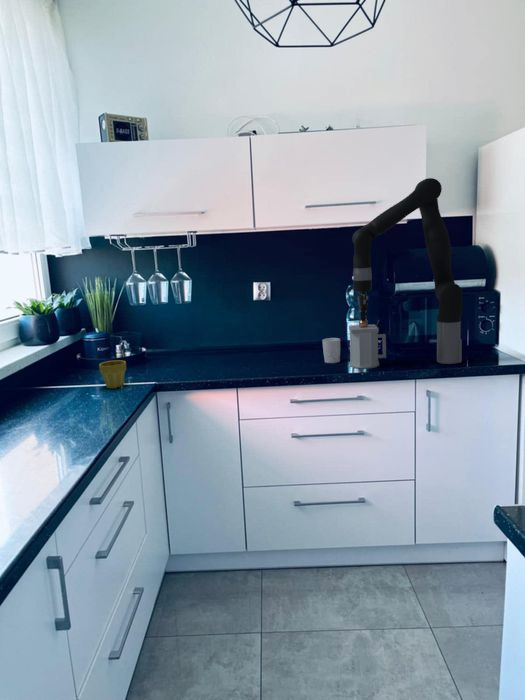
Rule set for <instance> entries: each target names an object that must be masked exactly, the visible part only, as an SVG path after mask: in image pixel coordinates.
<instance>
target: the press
mask: <svg viewBox="0 0 525 700" xmlns="http://www.w3.org/2000/svg"><path fill="white" fill-rule="evenodd" d="M379 329H380V328H379V327H378V326H377V325H376V324H368V326H367V327H364V328H362V327H359V324H358V325H355V324H354V325H348V330H349V352H350V353H349V354H350V355H349V357H350V358H349V360H350V362H349V363H348V364H349V367H350V368H352V367H353V369H357V368H360V370H361V369H362V370H363V369H364V370H365V369H366V370H367V369H374V368H377V367H380V362H379V359H387V340H386V339H387V336H386V333H382V334H381V333H380V334H379V331H380V330H379ZM379 338H380V339H381V338H382V354H379V341H378V339H379Z"/></svg>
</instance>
